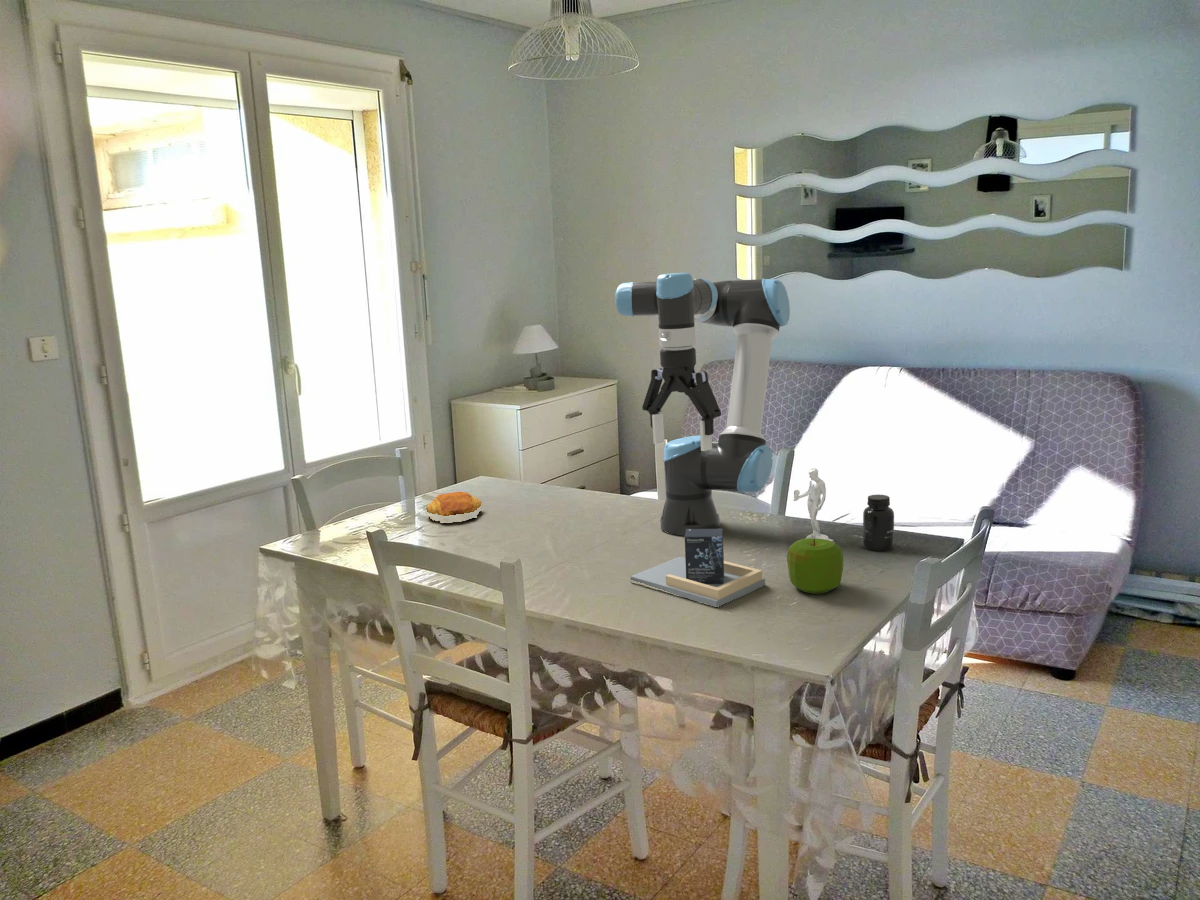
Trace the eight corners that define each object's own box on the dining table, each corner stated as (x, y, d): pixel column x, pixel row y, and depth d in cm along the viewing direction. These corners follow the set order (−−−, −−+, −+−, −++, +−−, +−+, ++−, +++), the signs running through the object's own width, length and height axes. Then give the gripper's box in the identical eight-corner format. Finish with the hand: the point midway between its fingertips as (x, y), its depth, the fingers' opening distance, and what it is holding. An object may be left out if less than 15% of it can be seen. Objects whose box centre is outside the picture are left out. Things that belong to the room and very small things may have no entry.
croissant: (430, 521, 273) (423, 494, 272) (483, 507, 275) (476, 481, 274) (429, 534, 259) (422, 506, 258) (485, 520, 261) (478, 492, 260)
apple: (853, 586, 197) (852, 535, 195) (824, 601, 190) (823, 549, 187) (807, 575, 205) (806, 526, 203) (777, 589, 198) (776, 539, 195)
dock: (630, 582, 207) (629, 567, 206) (679, 562, 218) (679, 548, 217) (716, 608, 190) (715, 591, 189) (765, 585, 201) (764, 569, 200)
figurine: (792, 539, 229) (790, 466, 225) (816, 534, 231) (815, 462, 227) (812, 549, 221) (810, 474, 217) (836, 544, 224) (836, 469, 220)
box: (686, 584, 200) (684, 536, 197) (687, 575, 205) (685, 528, 203) (724, 584, 198) (722, 535, 196) (724, 574, 204) (722, 527, 202)
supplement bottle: (895, 552, 216) (895, 500, 213) (864, 551, 217) (863, 501, 214) (892, 542, 222) (892, 492, 220) (862, 542, 224) (861, 493, 221)
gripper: (623, 347, 207) (628, 443, 211) (712, 352, 189) (716, 456, 193) (646, 343, 211) (651, 437, 216) (735, 347, 194) (739, 449, 198)
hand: (682, 446), depth 205 cm, fingers open, 13 cm apart
